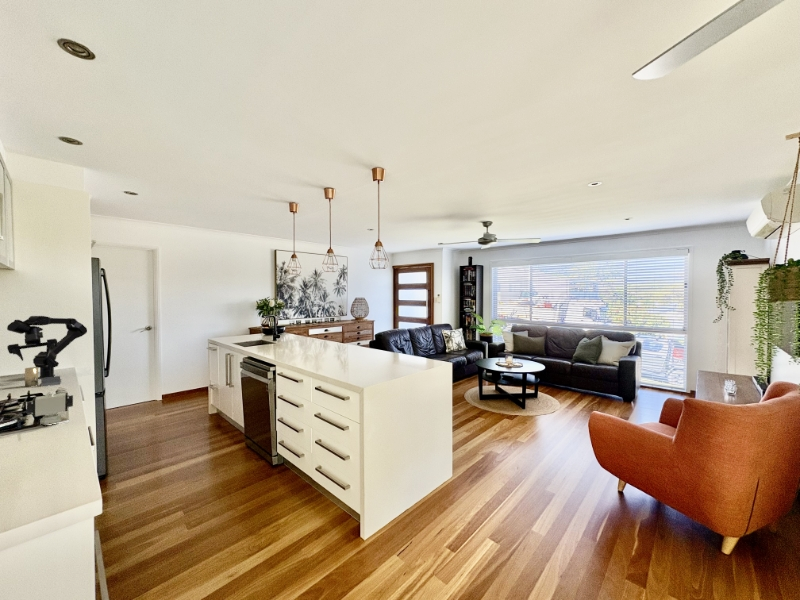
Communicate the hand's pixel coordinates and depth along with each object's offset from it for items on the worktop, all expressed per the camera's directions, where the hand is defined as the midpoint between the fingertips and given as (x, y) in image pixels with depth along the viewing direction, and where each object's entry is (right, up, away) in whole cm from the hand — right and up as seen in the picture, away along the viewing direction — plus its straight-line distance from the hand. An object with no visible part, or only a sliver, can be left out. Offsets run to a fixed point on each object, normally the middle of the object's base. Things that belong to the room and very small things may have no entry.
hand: (35, 358), depth 180 cm
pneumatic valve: (+74, -15, -59) cm, 95 cm away
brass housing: (+4, -14, -5) cm, 16 cm away
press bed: (+10, -14, -1) cm, 18 cm away
